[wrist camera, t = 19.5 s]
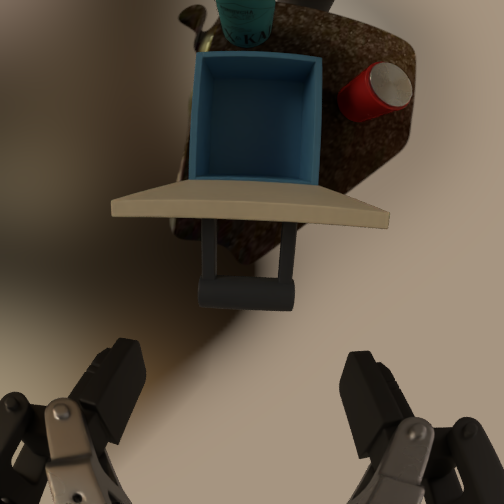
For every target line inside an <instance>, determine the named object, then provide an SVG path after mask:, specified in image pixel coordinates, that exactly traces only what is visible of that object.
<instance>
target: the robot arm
mask: <svg viewBox="0 0 504 504" xmlns="http://www.w3.org/2000/svg"><path fill="white" fill-rule="evenodd" d="M145 380H146V368H145V364H144V360H143V356H142V352H141V347H140V344H139V342H138V341H137V340H131V339H125V338H119V339H118V340H117V341H116V343H115V344H114V345H113V347H112V348H106V349H105V350H103V351H102V352H101V353H99V354H97V356H96V357H95V359H94V360H93V362H92V363H91V365H90V366H89V367H88V369H87V371H86V372H85V373H84V374H83V376H82V377H81V379H80V380H79V381H78V383H77V384H76V386H75V387H74V389H73V390H72V392H71V394H70V395H69V396H68V398H58V399H55V400H53V401H51V402H50V403H49V404H48V405H47V406H42V405H34V404H30V403H29V402H28V400H27V398H26V397H25V396H24V395H23V394H22V393H19V392H11V393H8V394H6V395H5V396H4V397H3V398H2V399H1V400H0V504H39V502H40V499H41V496H42V494H43V491H44V489H45V486H46V483H47V481H48V482H49V487H50V490H51V494H52V497H53V501H54V504H132V503H131V501H130V500H129V498H128V497H127V495H126V494H125V492H124V491H123V489H122V487H121V485H120V482H119V480H118V478H117V476H116V473H115V471H114V469H113V466H112V464H111V461H110V459H109V456H108V453H107V451H106V449H105V447H106V445H107V443H108V442H110V443H113V444H117V445H118V444H119V442H120V439H121V437H122V434H123V432H124V430H125V427H126V425H127V422H128V420H129V418H130V415H131V413H132V411H133V409H134V406H135V404H136V402H137V400H138V397H139V395H140V393H141V391H142V388H143V386H144V384H145ZM339 392H340V396H341V399H342V402H343V406H344V409H345V412H346V415H347V419H348V422H349V425H350V429H351V432H352V435H353V439H354V443H355V446H356V449H357V453H358V456H359V459H362V458H367V457H370V460H371V463H370V465H369V466H368V468H367V470H366V472H365V474H364V476H363V478H362V480H361V481H360V483H359V485H358V486H357V488H356V490H355V491H354V493H353V495H352V497H351V498H350V500H349V501H348V503H347V504H421V502H422V499H423V496H424V497H425V501H426V504H504V469H503V467H502V465H501V463H500V460H499V458H498V456H497V454H496V452H495V450H494V448H493V446H492V444H491V442H490V440H489V438H488V436H487V435H486V433H485V431H484V429H483V427H482V425H481V424H480V423H479V422H478V421H477V420H476V419H474V418H471V417H463V418H461V419H459V420H458V421H457V422H456V423H455V424H454V425H453V427H446V428H433V427H432V426H431V424H430V423H429V422H428V421H426V420H425V419H423V418H419V417H415V416H414V414H413V412H412V410H411V408H410V407H409V404H408V403H407V401H406V399H405V397H404V395H403V393H402V392H401V389H399V386H398V384H397V382H396V381H395V378H394V377H393V375H392V373H391V371H390V370H389V369H388V368H387V367H386V366H385V365H383V364H382V363H381V362H377V363H376V362H375V360H374V358H373V356H372V354H371V352H370V351H355V352H350V353H349V354H348V357H347V360H346V363H345V366H344V370H343V373H342V376H341V379H340V383H339ZM21 440H22V441H23V442H24V446H23V448H22V450H21V451H20V453H19V456H18V457H17V459H16V462H15V464H14V466H13V467H12V465H11V459H12V457H13V455H14V453H15V451H16V449H17V447H18V445H19V443H20V442H21ZM455 467H457V469H458V471H459V474H460V477H461V479H462V482H463V485H464V491H462V488H461V485H460V482H459V480H458V477H457V475H456V472H455V469H454V468H455Z"/></svg>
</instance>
